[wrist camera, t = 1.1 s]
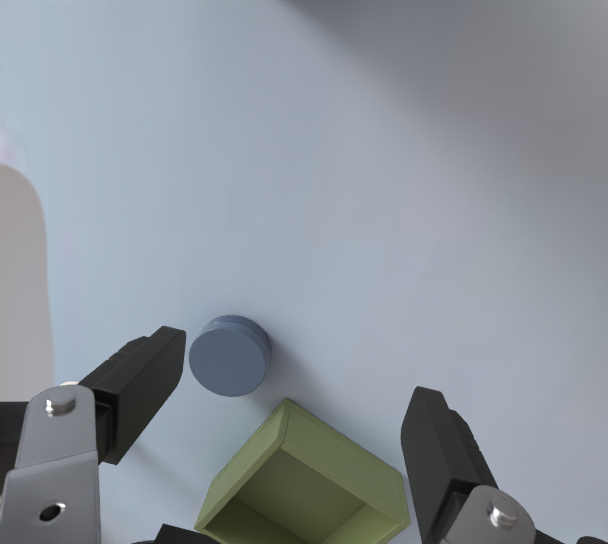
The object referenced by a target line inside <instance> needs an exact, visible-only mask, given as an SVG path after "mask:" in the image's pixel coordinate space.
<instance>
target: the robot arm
mask: <svg viewBox="0 0 608 544" xmlns="http://www.w3.org/2000/svg"><path fill="white" fill-rule="evenodd" d="M185 344H186V332H185V331H184V330H180V329H175V328H171V327H167V326H162V327H161V328H159V329H158V330H157V331H156V332H155V333H154V334H152V335H151V336H150V337H145V336H143V337H140V338H138V339H135V340H133V341H130V342H128V343H127V344H126V345H125V346H123V347H122V348H121V349H120V350H118V352H117V353H115V354H113V355H112V356H111V357H110V358H109V360H106V361H105V362H104V363H102V364H101V365H100V366H99V367H97V368H96V369H95V370H94V371H92V372H91V373H90V374H89V375H87V376H86V377H85V378H84V379H83V380H81V381H80V382H79V383H78V384H76V385H61V386H56V387H53V388H50V389H47V390H45V391H43V392H41V393H39V394H38V395H36V396H35V397H34V398H33V399H32V400H31V401H30V402H0V496H1V501H0V544H101V522H100V497H99V473H98V466H99V465H100V463H101V462H106V463H110V464H114V465H117V464H118V463H119V462H120V460H121V459H122V458H123V456H124V455H125V454H126V452H127V451H128V450H129V448H130V447H131V446H132V445H133V443H134V442H135V441H136V439H137V438H138V437H139V435H140V434H141V433H142V431H143V430H144V429H145V428H146V426H147V425H148V424H149V422H150V421H151V420H152V418H153V417H154V416H155V414H156V413H157V412H158V410H159V409H160V408H161V407H162V405H163V404H164V403H165V401H166V400H167V399H168V397H169V396H170V395H171V393H172V392H173V391H174V390H175V388H176V387H177V385H178V383H179V381H180V378H181V375H182V371H183V363H184V353H185ZM401 445H402V450H403V455H404V459H405V464H406V469H407V474H408V478H409V483H410V488H411V493H412V498H413V502H414V507H415V512H416V517H417V521H418V526H419V531H420V536H421V540H422V544H564V543H562V542H560V541H558V540H556V539H554V538H552V537H550V536H548V535H546V534H544V533H542V532H541V531H539V530H537V529H535V526H534V523H533V521H532V519H531V517H530V516H529V514H528V513H527V511H526V510H525V509H524V508H523V507H522V506H521V505H520V504H519V503H518V502H517V501H516V500H515V499H514V498H512V497H511V496H510V495H508V494H506V493H505V492H503V491H501V490H499V488H498V486H497V484H496V482H495V480H494V478H493V475H492V473H491V471H490V469H489V467H488V465H487V463H486V461H485V459H484V457H483V455H482V453H481V451H479V447H478V445H477V443H476V440H474V436H473V434H472V432H471V430H470V428H469V426H468V424H467V423H466V422H465V421H464V420H463V418H462V417H461V416H460V415H459V414H458V413H457V412H456V411H454V410H450V409H449V408H448V405H447V403H446V401H445V399H444V396H443V394H442V393H441V392H440V391H436V390H432V389H428V388H424V387H419V386H417V387H416V388H415V390H414V392H413V395H412V398H411V401H410V403H409V406H408V409H407V412H406V415H405V418H404V421H403V424H402V428H401ZM132 544H221V543H219V542H218V541H216V540H214V539H213V538H211V537H210V536H208V535H205V534H201V533H197V532H193V531H190V530H186V529H182V528H178V527H174V526H171V525H167V524H163V525H162V527H161V529H160V531H159V533H158V535H157V537H156V539H155V540H150V541H142V542H136V543H132ZM576 544H608V543H607V542H605V541H603V540H600V539H598V538H594V537H589V536H585V537H581V538H580V539H579V540H578V541H577V543H576Z"/></svg>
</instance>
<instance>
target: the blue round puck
mask: <svg viewBox="0 0 608 544" xmlns="http://www.w3.org/2000/svg"><path fill="white" fill-rule="evenodd" d="M270 358H271V345H270V342H269V339H268V337H267V335H266V334H265V332H264V331H263V330H262V329H261V328H260V327H259V326H258V325H257V324H256V323H254V322H253V321H251V320H249V319H247V318H244V317H240V316H232V315H231V316H222V317H219V318H216V319H214V320H213V321H211V322H210V323H209V324H208V325H207V326H206V327H205V328H204V329H203V330H202V332H201V333H200V334H199V335H198V337H197V338H196V339H195V340H194V342H193V344H192V345H191V348H190V352H189V364H190V368H191V371H192V373H193V375H194V376H195V378H196V379H197V380H198V382H199V383H200V384H201V385H202V386H204V387H205V388H206V389H208V390H210V391H211V392H213V393H216V394H219V395H222V396H228V397H237V396H242V395H246V394H248V393H250V392H252V391H253V390H255V389H256V388H257V387H258V386H259V385H260V384H261V382H262V381H263V379H264V376H265V373H266V370H267V368H268V365H269V362H270Z"/></svg>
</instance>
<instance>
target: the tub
mask: <svg viewBox="0 0 608 544" xmlns="http://www.w3.org/2000/svg"><path fill="white" fill-rule="evenodd" d="M410 524H411V522H410V517H409V512H408V507H407V502H406V497H405V492H404V487H403V482H402V477H401V473H399V472H398V471H396V470H395V469H393V468H392V467H390V466H389V465H387V464H386V463H384V462H383V461H381V460H380V459H378V458H377V457H375V456H374V455H372V454H371V453H369V452H368V451H366V450H365V449H363V448H362V447H360V446H359V445H357V444H355V443H354V442H352V441H351V440H349V439H348V438H346V437H345V436H343V435H342V434H340V433H339V432H337V431H336V430H334V429H333V428H331V427H330V426H328V425H327V424H325V423H324V422H322V421H321V420H319V419H318V418H316V417H315V416H313V415H312V414H310V413H309V412H307V411H306V410H304V409H302V408H301V407H299V406H298V405H296V404H295V403H293V402H292V401H290V400H289V399H287V398H285V399H284V400H283V401H282V402H281V403H280V405H279V406H278V407H277V408H276V409H275V410H274V411H273V413H272V414H271V415H270V416H269V417H268V418H267V419H266V421H265V422H264V423H263V424H262V425H261V426H260V427H259V429H258V430H257V431H256V432H255V433H254V434H253V435H252V437H251V438H250V439H249V440H248V441H247V442H246V443H245V445H244V446H243V447H242V448H241V449H240V450H239V451H238V453H237V454H236V455H235V456H234V457H233V458H232V459H231V461H230V462H229V463H228V464H227V465H226V466H225V467H224V469H223V470H222V471H221V472H220V473H219V474H218V475H217V477H216V478H215V479H214V480H213V481H212V483H211V486H210V489H209V491H208V493H207V496H206V498H205V501H204V504H203V506H202V509H201V511H200V514H199V516H198V519H197V521H196V524H195V526H194V529H195V530H197V531H198V532H200V533H201V534H205V535H208V536H210V537H211V538H213V539H214V540H216V541H218V542H219V543H221V544H386V543H387V542H388V541H390V540H391V539H392V538H393V537H395V536H396V535H397V534H399V533H400V532H401V531H402V530H404V529H405V528H406V527H407V526H409V525H410Z"/></svg>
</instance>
